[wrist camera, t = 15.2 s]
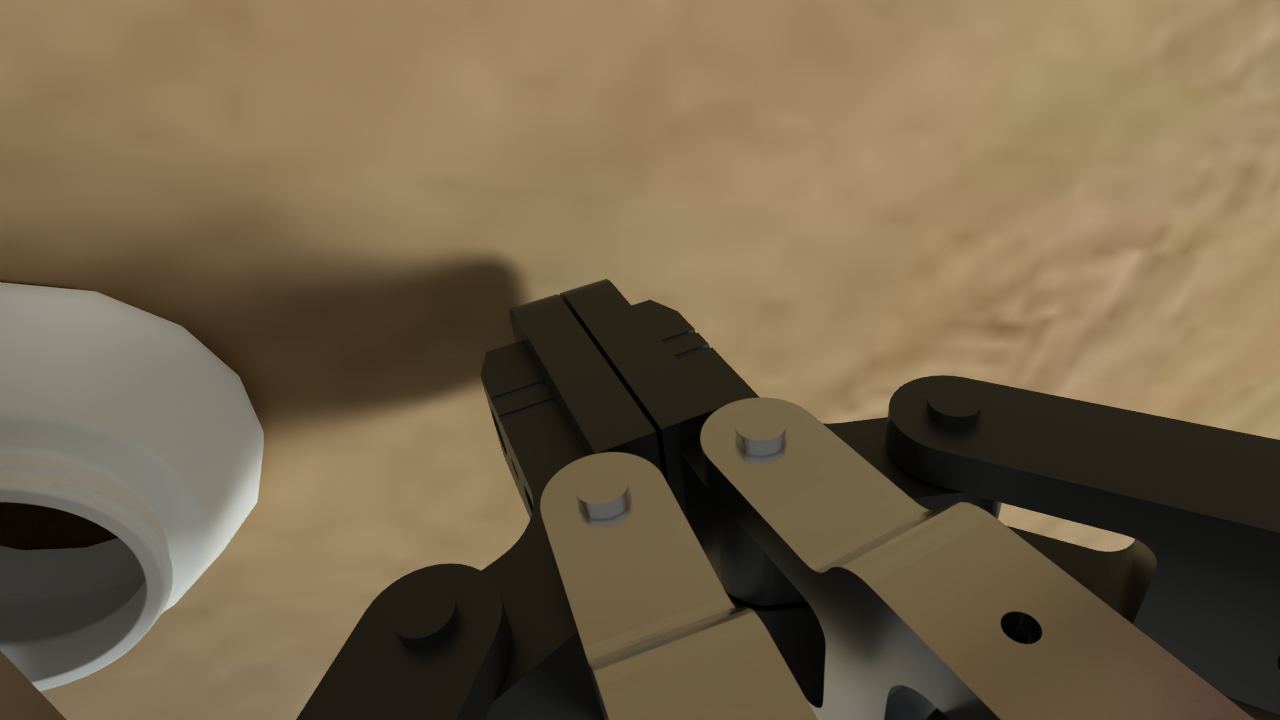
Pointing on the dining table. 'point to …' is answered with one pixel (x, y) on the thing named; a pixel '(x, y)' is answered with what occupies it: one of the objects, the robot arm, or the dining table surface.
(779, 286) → the dining table surface
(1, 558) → the white jar
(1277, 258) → the dining table surface
